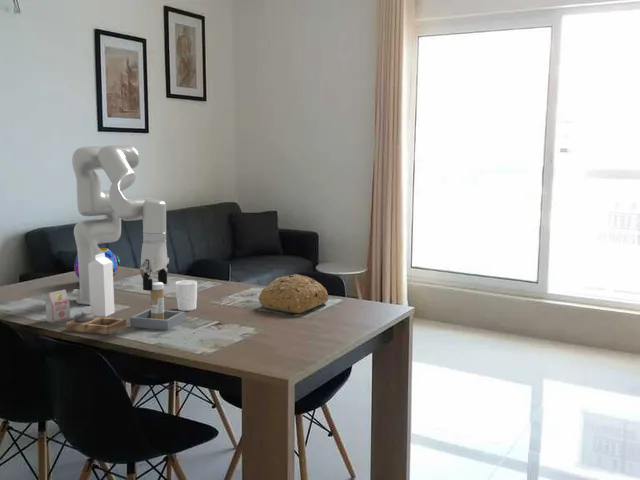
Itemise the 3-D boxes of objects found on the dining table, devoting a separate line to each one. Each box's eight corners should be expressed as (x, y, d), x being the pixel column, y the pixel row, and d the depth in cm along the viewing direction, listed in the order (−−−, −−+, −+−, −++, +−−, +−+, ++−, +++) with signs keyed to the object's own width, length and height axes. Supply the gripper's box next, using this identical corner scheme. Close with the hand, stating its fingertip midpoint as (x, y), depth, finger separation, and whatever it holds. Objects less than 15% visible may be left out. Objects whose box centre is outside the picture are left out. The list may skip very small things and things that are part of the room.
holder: (66, 330, 215) (65, 315, 214) (84, 322, 224) (83, 308, 223) (110, 334, 210) (109, 319, 210) (126, 326, 219) (125, 311, 219)
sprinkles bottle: (148, 321, 223) (146, 283, 221) (159, 319, 226) (158, 280, 224) (156, 324, 220) (155, 285, 218) (167, 321, 223) (166, 282, 221)
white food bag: (46, 320, 226) (44, 292, 225) (63, 316, 232) (62, 288, 230) (52, 322, 224) (51, 293, 223) (70, 318, 230) (68, 290, 228)
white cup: (192, 311, 238) (192, 284, 237) (172, 310, 240) (171, 284, 239) (201, 306, 246) (200, 280, 245) (181, 305, 248) (180, 279, 246)
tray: (130, 326, 219) (130, 317, 219) (149, 317, 231) (148, 308, 230) (167, 330, 215) (167, 320, 215) (185, 320, 227) (184, 311, 226)
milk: (90, 316, 232) (86, 254, 229) (100, 311, 238) (96, 252, 235) (106, 317, 231) (102, 255, 228) (115, 312, 237) (112, 252, 233)
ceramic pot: (110, 288, 275) (109, 253, 273) (68, 288, 276) (66, 253, 273) (123, 279, 293) (122, 246, 290) (84, 279, 293) (82, 246, 291)
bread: (300, 317, 232) (300, 284, 230) (252, 309, 243) (252, 277, 241) (336, 303, 252) (336, 272, 250) (290, 296, 263) (290, 267, 261)
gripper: (157, 232, 228) (158, 280, 231) (130, 240, 212) (131, 291, 215) (177, 234, 226) (177, 282, 229) (151, 242, 210) (152, 294, 213)
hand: (155, 286), depth 222 cm, fingers open, 9 cm apart
